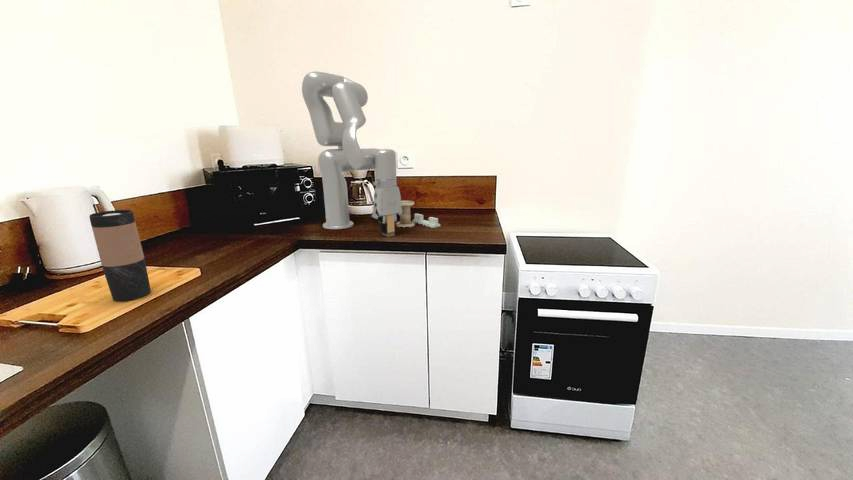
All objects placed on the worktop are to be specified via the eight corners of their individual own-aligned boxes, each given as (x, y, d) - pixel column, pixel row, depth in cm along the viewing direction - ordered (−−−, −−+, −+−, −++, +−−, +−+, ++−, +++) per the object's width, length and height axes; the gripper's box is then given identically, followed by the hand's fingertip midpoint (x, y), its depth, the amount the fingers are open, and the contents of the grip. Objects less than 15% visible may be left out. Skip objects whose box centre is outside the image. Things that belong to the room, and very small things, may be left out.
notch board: (412, 222, 157) (412, 214, 156) (419, 220, 159) (419, 213, 158) (433, 227, 146) (433, 219, 145) (440, 226, 149) (440, 218, 148)
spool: (392, 225, 151) (391, 202, 149) (407, 222, 156) (406, 199, 153) (403, 228, 145) (402, 204, 143) (418, 225, 150) (418, 202, 148)
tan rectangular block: (382, 234, 137) (381, 214, 135) (388, 233, 139) (388, 213, 137) (388, 236, 134) (387, 215, 132) (394, 235, 136) (394, 214, 134)
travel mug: (159, 288, 89) (141, 209, 83) (136, 302, 81) (115, 216, 76) (128, 289, 88) (107, 209, 83) (102, 302, 81) (78, 216, 76)
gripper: (372, 186, 123) (375, 237, 128) (410, 182, 133) (411, 230, 138) (361, 184, 129) (364, 233, 134) (398, 181, 139) (400, 227, 144)
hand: (388, 231), depth 136 cm, fingers closed on tan rectangular block, 3 cm apart
